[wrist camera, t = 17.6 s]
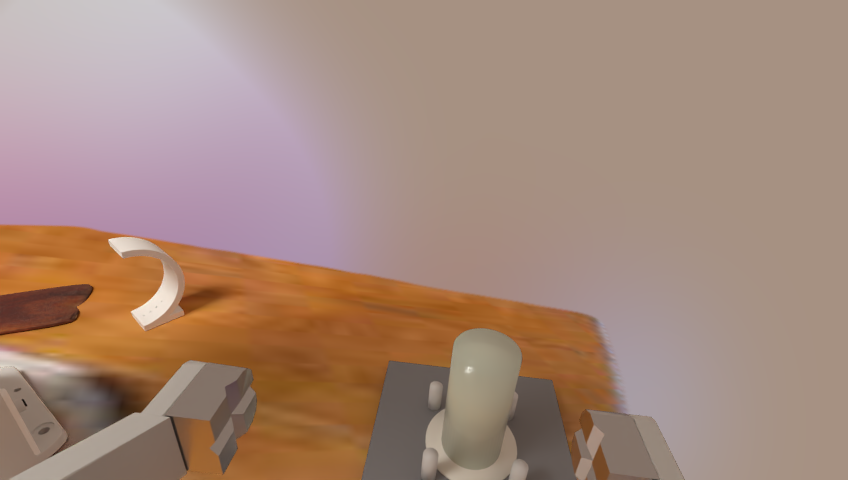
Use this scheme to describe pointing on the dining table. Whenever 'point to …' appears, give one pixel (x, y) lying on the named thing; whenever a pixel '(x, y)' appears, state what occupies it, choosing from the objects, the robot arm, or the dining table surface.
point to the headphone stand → (172, 287)
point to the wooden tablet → (41, 308)
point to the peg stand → (423, 422)
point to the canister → (479, 397)
